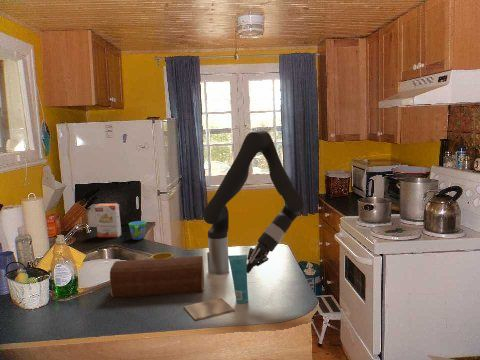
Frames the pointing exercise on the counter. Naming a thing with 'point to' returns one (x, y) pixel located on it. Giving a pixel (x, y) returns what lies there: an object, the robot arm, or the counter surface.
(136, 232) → the snack cup
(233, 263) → the tube
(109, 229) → the cracker box
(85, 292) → the counter surface
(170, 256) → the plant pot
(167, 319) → the counter surface
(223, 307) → the cork mat
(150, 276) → the bread
